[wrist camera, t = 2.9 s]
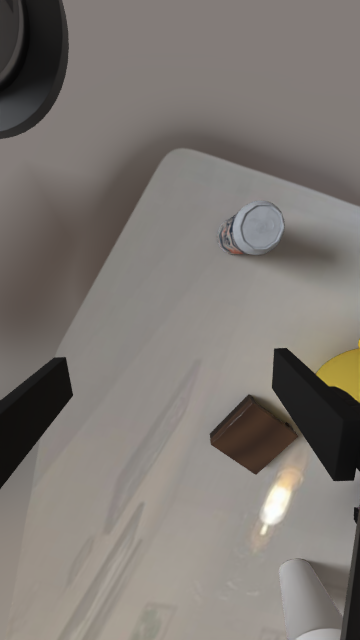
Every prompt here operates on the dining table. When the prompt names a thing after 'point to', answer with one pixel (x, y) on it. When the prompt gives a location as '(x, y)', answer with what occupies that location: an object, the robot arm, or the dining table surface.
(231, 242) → the beer can
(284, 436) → the flat wooden board
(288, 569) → the cup
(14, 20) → the robot arm
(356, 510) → the decorative flower
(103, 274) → the dining table surface
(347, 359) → the teapot
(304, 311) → the dining table surface
